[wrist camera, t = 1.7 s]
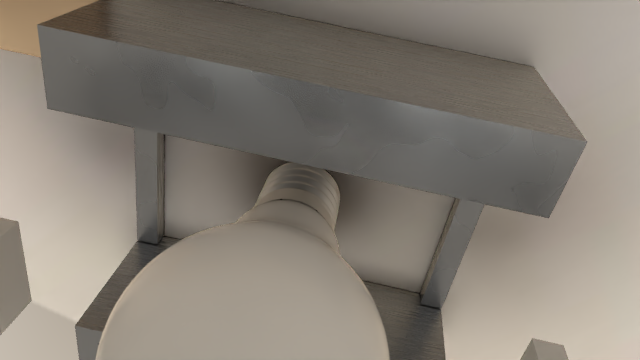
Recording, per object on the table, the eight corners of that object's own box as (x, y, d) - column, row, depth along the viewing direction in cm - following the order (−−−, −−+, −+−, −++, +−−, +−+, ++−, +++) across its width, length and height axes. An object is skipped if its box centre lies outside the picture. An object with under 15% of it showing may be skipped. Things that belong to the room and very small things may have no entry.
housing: (139, -16, 15) (36, 24, 11) (534, 66, 15) (586, 141, 11) (144, 269, 21) (80, 366, 17) (426, 333, 21) (431, 448, 17)
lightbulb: (380, 88, 16) (348, 391, 6) (405, 249, 19) (408, 614, 9) (195, 116, 17) (-53, 397, 8) (246, 261, 20) (110, 590, 11)
